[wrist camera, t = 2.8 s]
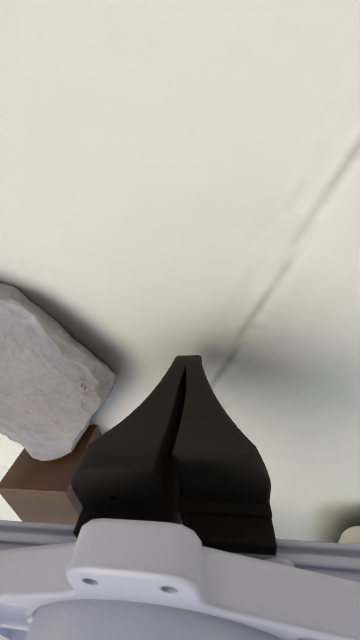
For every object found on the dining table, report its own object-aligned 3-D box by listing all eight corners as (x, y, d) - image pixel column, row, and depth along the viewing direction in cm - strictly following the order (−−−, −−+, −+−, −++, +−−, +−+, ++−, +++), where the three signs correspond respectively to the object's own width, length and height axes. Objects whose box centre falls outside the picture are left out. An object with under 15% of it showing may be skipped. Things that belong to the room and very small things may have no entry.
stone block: (-22, 248, 15) (-66, 366, 18) (-103, 253, 11) (-147, 411, 13) (142, 338, 18) (83, 430, 20) (133, 374, 13) (58, 486, 16)
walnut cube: (110, 462, 22) (86, 530, 17) (60, 460, 22) (24, 525, 18) (97, 425, 20) (65, 492, 15) (41, 424, 20) (-5, 488, 16)
